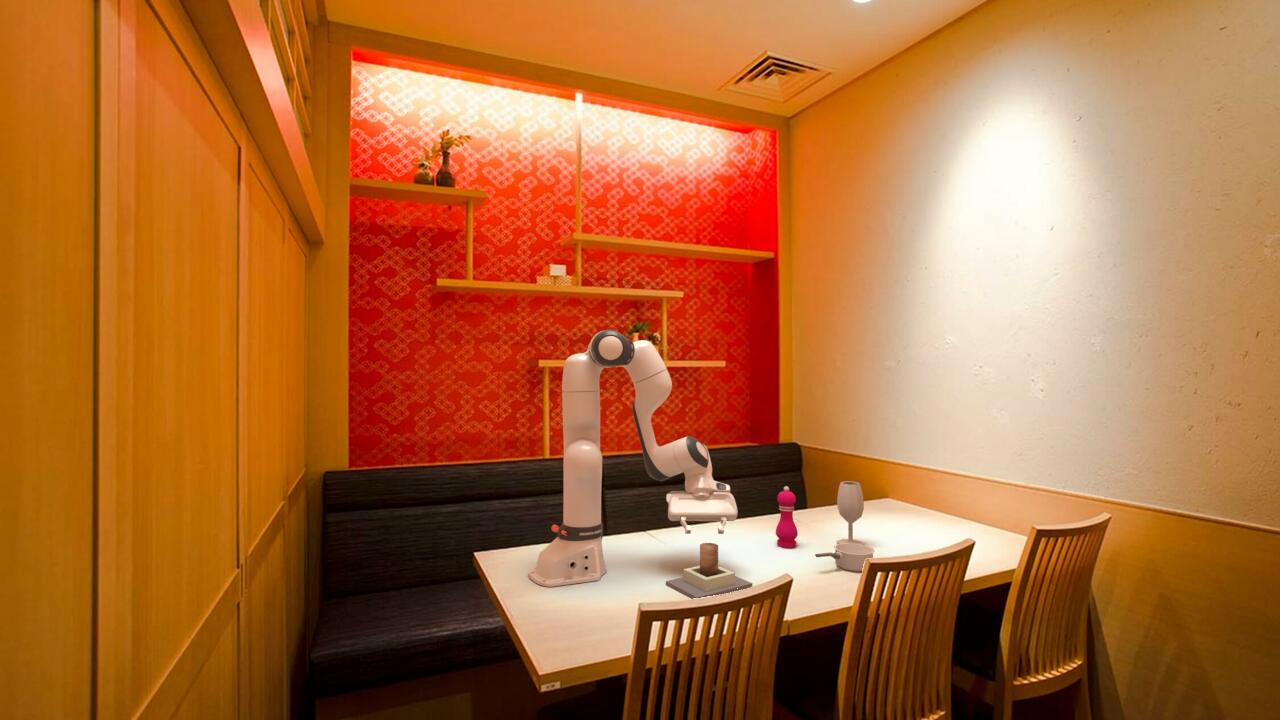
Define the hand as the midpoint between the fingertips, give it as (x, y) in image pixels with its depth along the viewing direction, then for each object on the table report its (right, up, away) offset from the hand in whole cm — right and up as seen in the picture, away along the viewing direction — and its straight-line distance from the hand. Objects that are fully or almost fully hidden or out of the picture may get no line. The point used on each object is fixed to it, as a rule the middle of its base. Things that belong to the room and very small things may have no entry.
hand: (704, 532), depth 168 cm
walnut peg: (+1, -12, -6) cm, 13 cm away
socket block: (0, -13, -6) cm, 14 cm away
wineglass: (+53, -14, +33) cm, 64 cm away
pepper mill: (+31, -14, +32) cm, 46 cm away
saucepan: (+42, -14, +9) cm, 45 cm away
